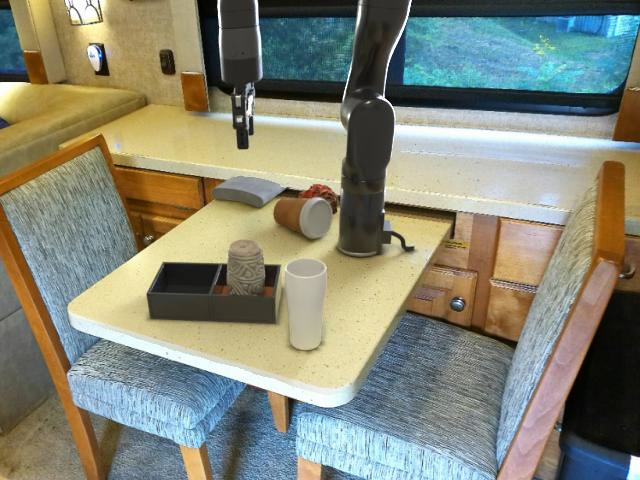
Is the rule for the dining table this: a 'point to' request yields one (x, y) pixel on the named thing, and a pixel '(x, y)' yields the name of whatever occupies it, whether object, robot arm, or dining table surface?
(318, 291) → the drinking glass
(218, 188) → the hip flask
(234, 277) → the carving
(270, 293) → the storage box with compartments
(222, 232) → the dining table surface
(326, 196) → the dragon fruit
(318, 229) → the disposable coffee cup
